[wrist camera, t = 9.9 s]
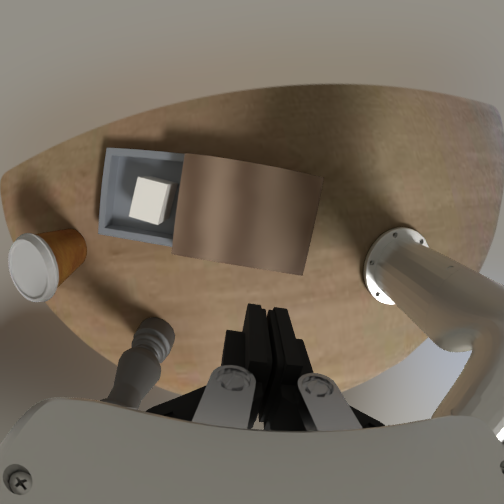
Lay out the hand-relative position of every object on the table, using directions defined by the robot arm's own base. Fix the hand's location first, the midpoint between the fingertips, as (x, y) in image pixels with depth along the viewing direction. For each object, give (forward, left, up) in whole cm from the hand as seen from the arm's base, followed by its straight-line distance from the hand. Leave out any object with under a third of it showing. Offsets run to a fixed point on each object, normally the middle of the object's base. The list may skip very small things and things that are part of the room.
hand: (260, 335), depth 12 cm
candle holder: (+12, +20, -27) cm, 36 cm away
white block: (+11, -2, -24) cm, 26 cm away
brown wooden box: (+1, -2, -27) cm, 27 cm away
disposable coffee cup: (+28, +8, -27) cm, 40 cm away
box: (+15, -2, -27) cm, 31 cm away
